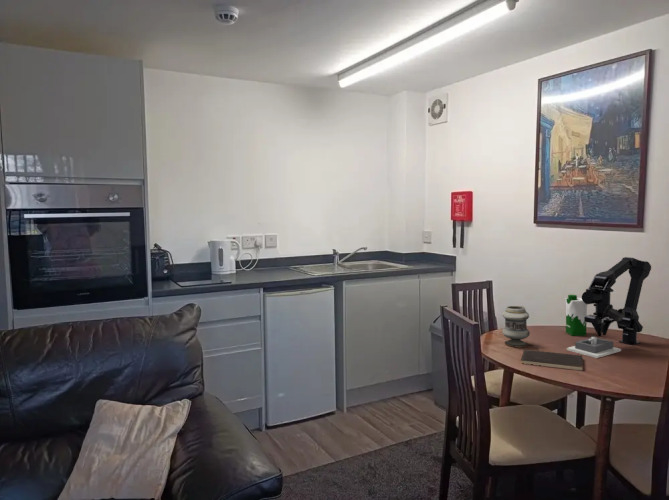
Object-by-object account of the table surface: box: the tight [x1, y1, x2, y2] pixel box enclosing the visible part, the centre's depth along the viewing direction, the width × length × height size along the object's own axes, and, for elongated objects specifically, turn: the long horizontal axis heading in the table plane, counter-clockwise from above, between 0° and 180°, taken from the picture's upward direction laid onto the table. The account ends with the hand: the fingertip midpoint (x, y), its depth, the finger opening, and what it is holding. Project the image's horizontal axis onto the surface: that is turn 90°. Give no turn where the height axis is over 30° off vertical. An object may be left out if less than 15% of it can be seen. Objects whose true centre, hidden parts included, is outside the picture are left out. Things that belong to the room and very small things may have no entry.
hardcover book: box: [520, 349, 584, 371], centre depth 198 cm, size 16×23×2 cm
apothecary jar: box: [502, 305, 531, 348], centre depth 223 cm, size 12×12×18 cm
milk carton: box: [565, 294, 588, 337], centre depth 238 cm, size 9×9×20 cm
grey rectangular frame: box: [574, 337, 614, 353], centre depth 211 cm, size 14×9×3 cm, turn 119°
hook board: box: [566, 336, 622, 359], centre depth 211 cm, size 18×14×6 cm
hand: (602, 335), depth 214 cm, fingers open, 3 cm apart
